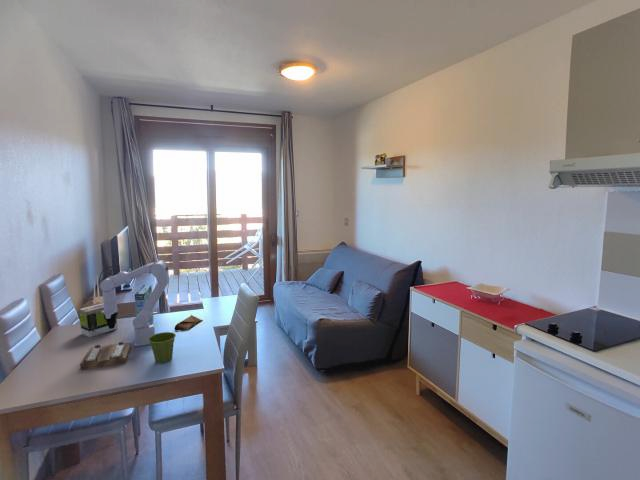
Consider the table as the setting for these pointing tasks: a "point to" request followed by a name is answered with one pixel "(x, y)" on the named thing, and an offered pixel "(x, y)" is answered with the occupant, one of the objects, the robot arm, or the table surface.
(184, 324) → the sunglasses case
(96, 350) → the latch
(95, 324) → the tea box
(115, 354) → the bar
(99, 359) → the wooden wall rack
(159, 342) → the plant pot
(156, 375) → the table surface
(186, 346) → the table surface
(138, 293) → the gum box
